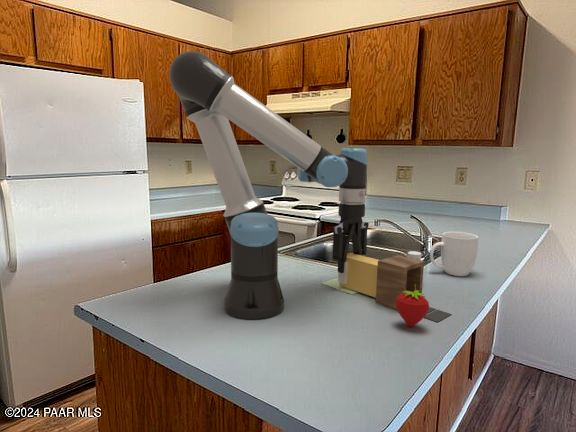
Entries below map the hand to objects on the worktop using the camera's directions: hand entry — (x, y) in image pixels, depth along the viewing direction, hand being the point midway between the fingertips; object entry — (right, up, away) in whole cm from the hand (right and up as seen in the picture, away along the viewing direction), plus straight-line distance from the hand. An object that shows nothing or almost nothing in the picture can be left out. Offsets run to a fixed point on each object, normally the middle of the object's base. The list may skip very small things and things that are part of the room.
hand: (348, 280), depth 118 cm
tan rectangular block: (+4, -2, -4) cm, 6 cm away
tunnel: (+11, -4, -12) cm, 17 cm away
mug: (+37, 0, +14) cm, 40 cm away
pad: (-1, -2, +1) cm, 2 cm away
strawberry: (+10, -6, -26) cm, 29 cm away
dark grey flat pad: (+17, -5, -19) cm, 26 cm away
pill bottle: (+20, -2, +3) cm, 20 cm away
